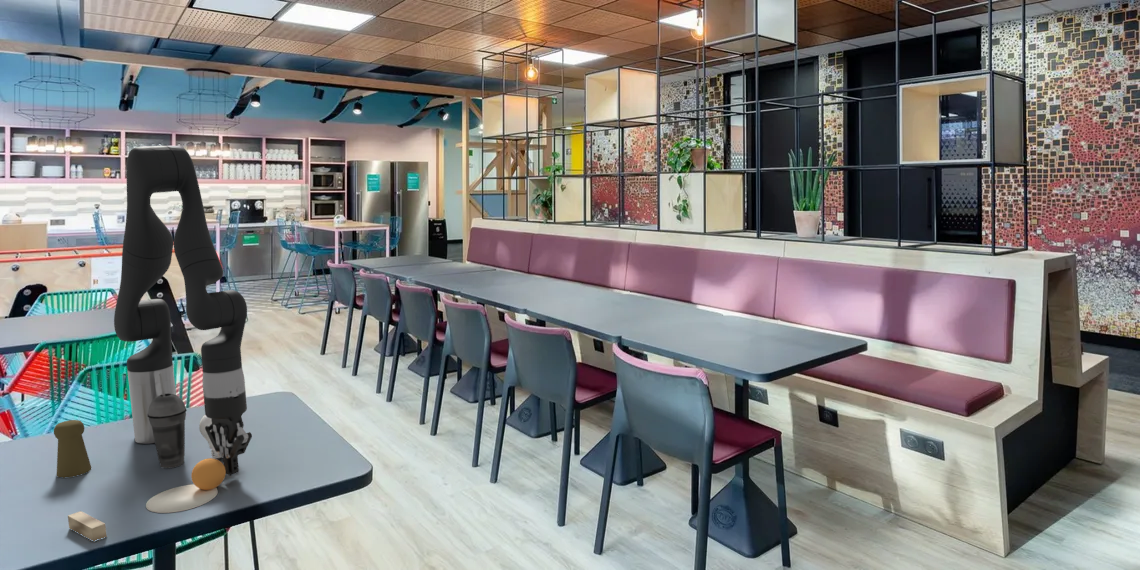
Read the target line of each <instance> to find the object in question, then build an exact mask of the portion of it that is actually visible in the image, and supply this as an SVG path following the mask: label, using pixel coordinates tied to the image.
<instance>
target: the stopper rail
mask: <svg viewBox="0 0 1140 570" xmlns="http://www.w3.org/2000/svg"><path fill="white" fill-rule="evenodd" d="M67 519H68V520H67V521H68V529H69V528H70V529H72V530H74V531H76V532H78V533H79V534H82V535H83V536H85V537H87V538H89V539H91V540H93V541H95V540H97V539H101V538H104V537H107V538H108V536H107V526H106V523H105V522H103V521H101V520H99V519H97V518H95V517H93V516H91V515H90V514H87V513H86V512H84V511H81V510H80V511H76V512H74V513H71V514H68V515H67ZM70 529H69V530H70ZM72 530H71V531H72ZM74 531H73V532H74ZM76 532H75V533H76ZM79 534H78V535H79ZM83 536H82V537H83ZM85 537H84V538H85ZM104 539H105V538H104Z"/></svg>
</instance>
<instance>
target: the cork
mask: <svg viewBox="0 0 1140 570" xmlns="http://www.w3.org/2000/svg"><path fill="white" fill-rule="evenodd" d="M84 432H85V424H84V423H83V422H82V421H81V420H78V419H70V420H65V421H62V422H59V423H57V424H55V426H54V428H53V435H54V436H55V438H56V440H57V456H56V457H57V458H56V476H58V477H57V478H59V477H63V478H62V479H66V478H65V477H69V478H74V477H73V476H75V477H78V476H77V475H79V476H82V475H84V473H85V474H87V473H89V472H90V471H91V470H92V469H91V468H92V466H91V465H92V464H91V461H90V457H89V454H88V451H87V449H86V448H87V447H86V445H85V441H84V437H83V433H84ZM86 472H87V473H86ZM81 474H82V475H81Z"/></svg>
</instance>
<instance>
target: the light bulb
mask: <svg viewBox="0 0 1140 570" xmlns="http://www.w3.org/2000/svg"><path fill="white" fill-rule="evenodd" d="M211 420H212V419H211V418H208V417H207V416H206V415H205V414H204V415H203V416H202V417H201V418H200V421H199V424H198V426H199V427H198V429H199V432H200V434H201V435H202V437H203V438H204V439H205V440H206V442H207V443H208V446H209V447H208V448H209V449H210V450H211V451H210V452H211V458H213V459H217V460H220V459H223V457H222V456H221V455H220V452H216V451H215V448H214V446H213V444H212V442H211V440H210V438H209V436H208V434H207V432H206V430H205V427H206V426H208V425H211V424H212V421H211Z"/></svg>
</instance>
